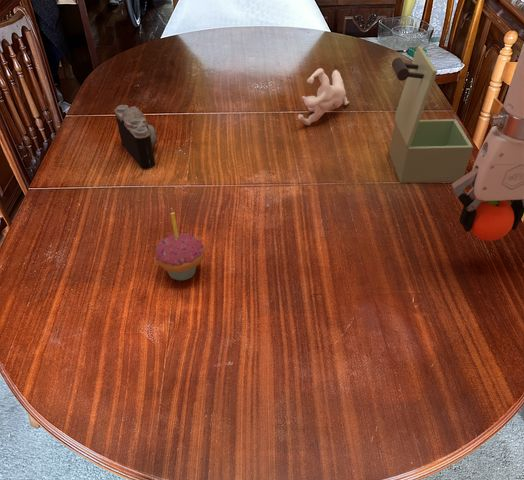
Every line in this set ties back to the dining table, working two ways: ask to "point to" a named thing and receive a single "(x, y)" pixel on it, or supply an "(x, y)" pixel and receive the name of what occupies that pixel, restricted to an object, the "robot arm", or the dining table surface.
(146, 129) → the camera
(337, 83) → the pale pink plastic figure
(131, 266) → the dining table surface
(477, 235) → the clementine
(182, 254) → the cupcake
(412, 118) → the lid
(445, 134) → the green hollow rectangular box
